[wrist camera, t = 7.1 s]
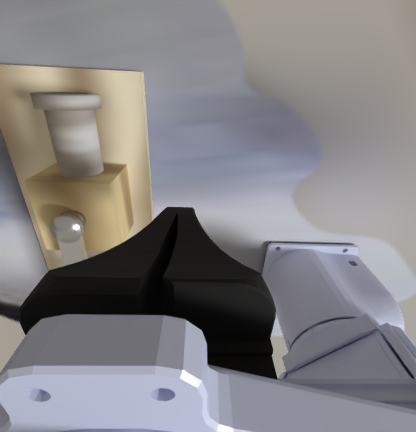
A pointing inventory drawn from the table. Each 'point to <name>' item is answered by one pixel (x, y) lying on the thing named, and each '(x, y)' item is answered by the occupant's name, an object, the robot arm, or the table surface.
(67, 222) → the valve lever
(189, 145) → the table surface
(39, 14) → the table surface
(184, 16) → the table surface
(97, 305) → the robot arm
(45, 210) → the valve stand
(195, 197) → the table surface
